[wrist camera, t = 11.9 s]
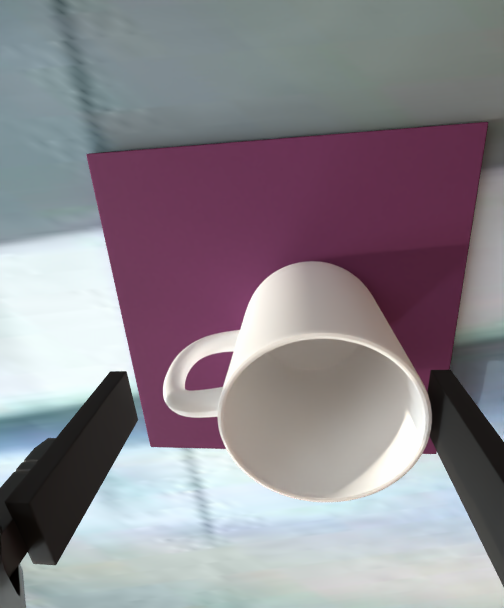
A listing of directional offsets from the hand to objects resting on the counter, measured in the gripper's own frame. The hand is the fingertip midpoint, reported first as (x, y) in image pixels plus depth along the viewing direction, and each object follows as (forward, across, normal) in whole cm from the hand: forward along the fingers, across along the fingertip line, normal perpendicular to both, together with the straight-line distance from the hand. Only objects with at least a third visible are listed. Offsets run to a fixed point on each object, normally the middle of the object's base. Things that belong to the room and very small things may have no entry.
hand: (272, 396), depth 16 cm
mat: (+9, 0, 0) cm, 9 cm away
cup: (+9, 0, 0) cm, 9 cm away
